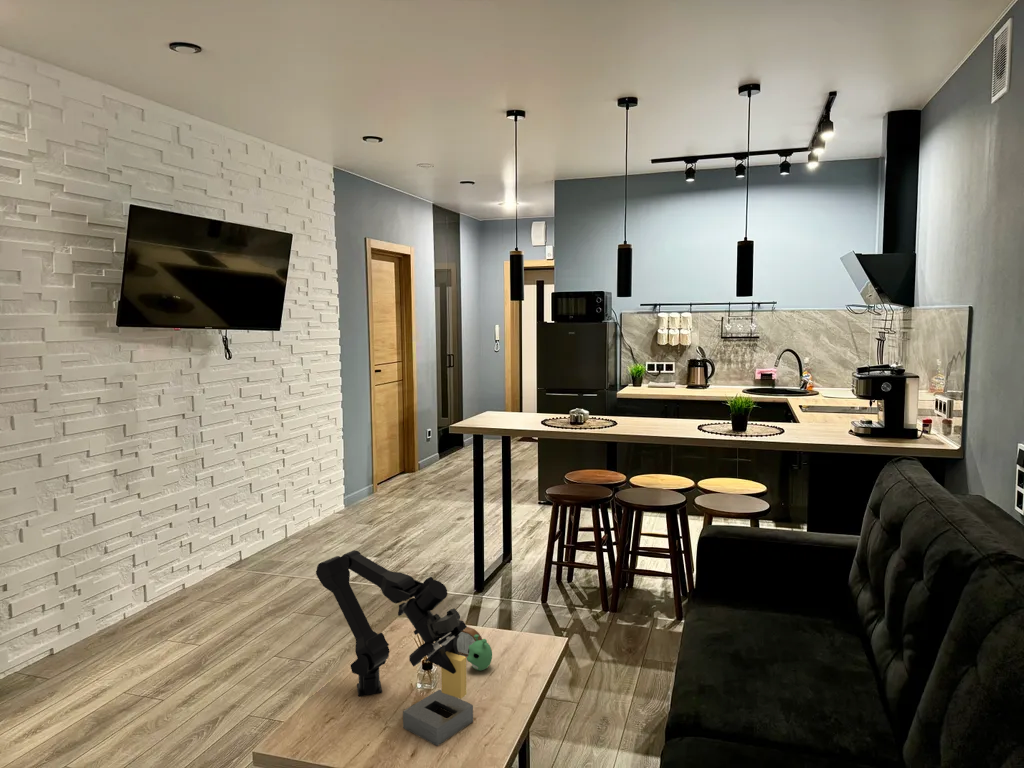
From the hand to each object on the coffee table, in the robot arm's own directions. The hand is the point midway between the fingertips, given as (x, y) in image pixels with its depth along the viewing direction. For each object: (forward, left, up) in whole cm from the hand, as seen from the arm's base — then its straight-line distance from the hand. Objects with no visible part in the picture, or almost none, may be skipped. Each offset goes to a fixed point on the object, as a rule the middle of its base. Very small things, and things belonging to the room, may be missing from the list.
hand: (458, 670), depth 179 cm
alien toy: (-24, +11, -14) cm, 30 cm away
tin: (-36, +8, -14) cm, 39 cm away
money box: (0, -5, -13) cm, 15 cm away
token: (-1, -1, -7) cm, 7 cm away
